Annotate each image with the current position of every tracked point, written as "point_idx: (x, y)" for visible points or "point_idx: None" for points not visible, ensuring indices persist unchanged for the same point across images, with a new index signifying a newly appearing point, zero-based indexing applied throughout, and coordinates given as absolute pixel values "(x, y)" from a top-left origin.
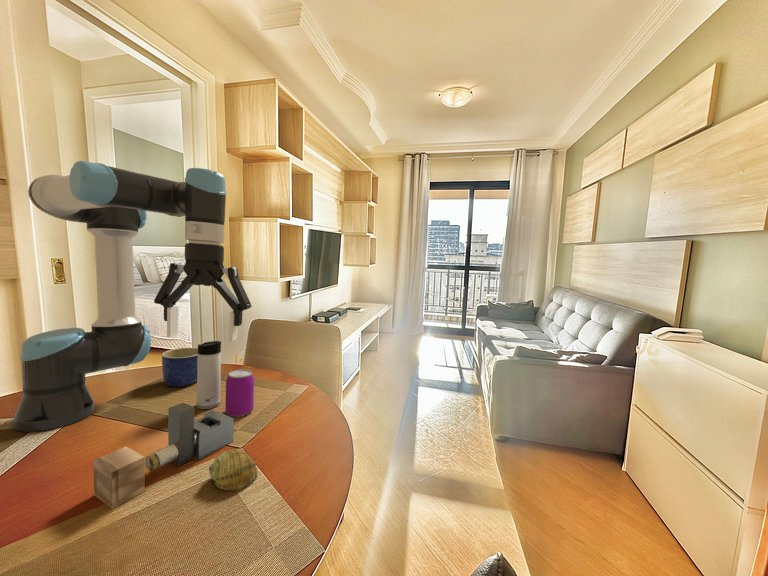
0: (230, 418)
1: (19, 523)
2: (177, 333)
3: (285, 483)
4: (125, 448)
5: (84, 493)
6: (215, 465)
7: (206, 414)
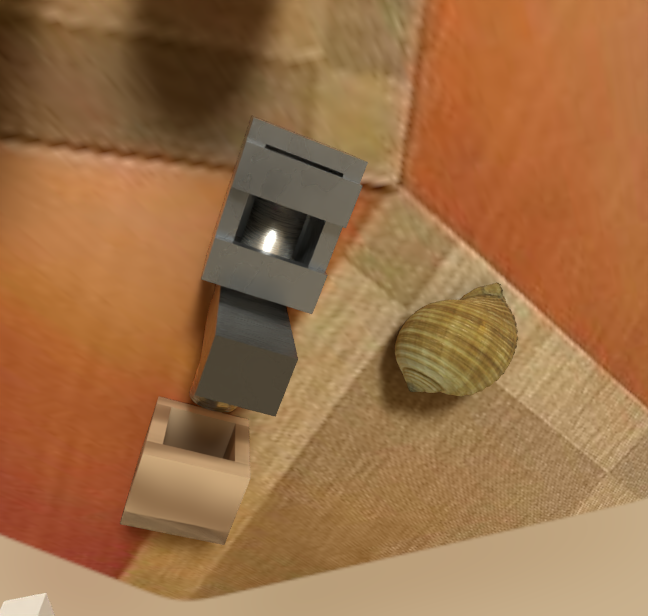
0: (355, 167)
1: (73, 546)
2: (47, 611)
3: (590, 316)
4: (153, 463)
5: (108, 458)
6: (430, 389)
7: (245, 185)
